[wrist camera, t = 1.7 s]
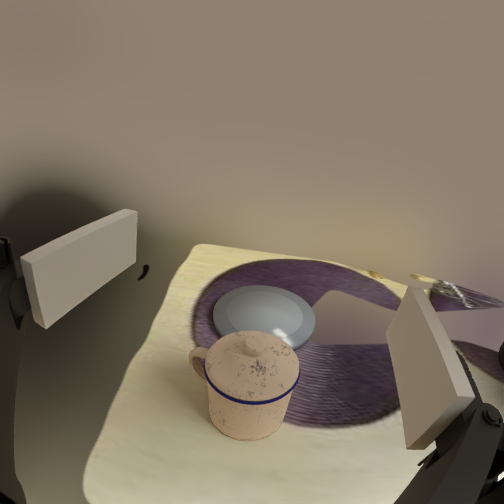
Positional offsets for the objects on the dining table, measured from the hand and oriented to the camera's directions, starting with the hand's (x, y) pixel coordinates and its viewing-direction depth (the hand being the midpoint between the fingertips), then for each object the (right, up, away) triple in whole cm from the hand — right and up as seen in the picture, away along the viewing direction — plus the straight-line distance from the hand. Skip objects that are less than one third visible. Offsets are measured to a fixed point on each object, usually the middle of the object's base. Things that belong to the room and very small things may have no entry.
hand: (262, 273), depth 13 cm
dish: (+1, -10, +32) cm, 34 cm away
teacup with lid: (-2, -17, +18) cm, 25 cm away
